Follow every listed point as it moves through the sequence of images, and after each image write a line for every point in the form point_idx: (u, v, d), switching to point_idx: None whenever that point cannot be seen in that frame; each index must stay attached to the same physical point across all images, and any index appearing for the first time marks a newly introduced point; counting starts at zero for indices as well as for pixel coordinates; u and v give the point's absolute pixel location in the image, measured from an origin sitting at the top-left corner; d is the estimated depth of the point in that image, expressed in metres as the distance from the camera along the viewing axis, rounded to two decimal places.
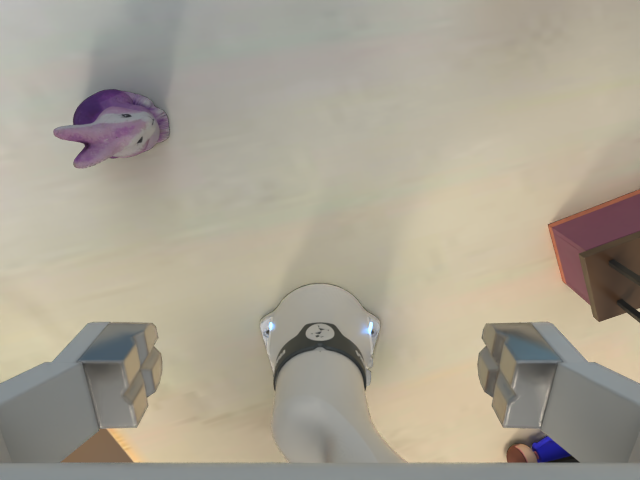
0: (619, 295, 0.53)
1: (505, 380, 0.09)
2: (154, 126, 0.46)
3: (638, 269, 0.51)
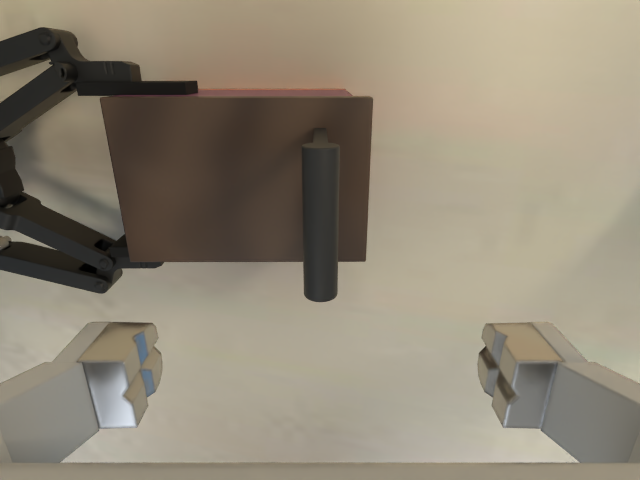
0: None
1: (505, 380, 0.09)
2: None
3: (272, 197, 0.25)
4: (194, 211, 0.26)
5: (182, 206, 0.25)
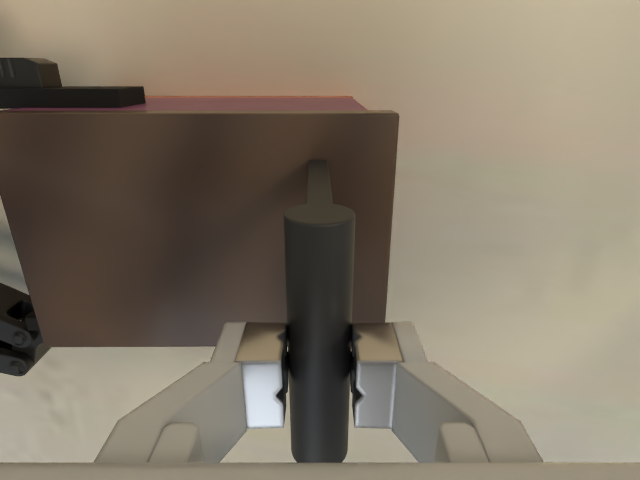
0: None
1: None
2: None
3: (248, 259, 0.17)
4: (133, 278, 0.17)
5: (115, 271, 0.17)
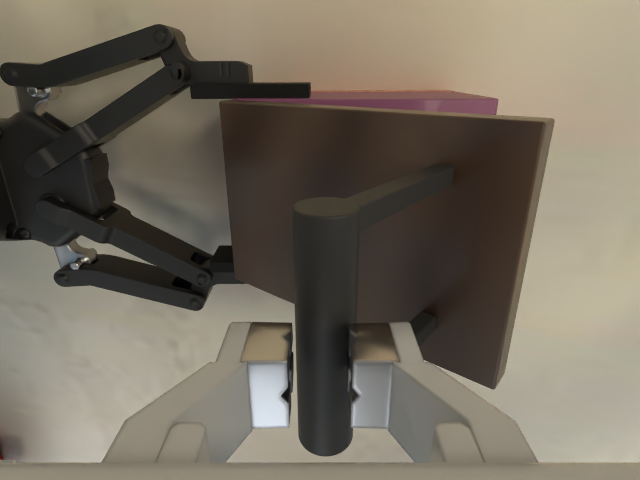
0: (438, 198, 0.15)
1: None
2: None
3: (370, 251, 0.18)
4: (288, 243, 0.21)
5: (278, 234, 0.21)
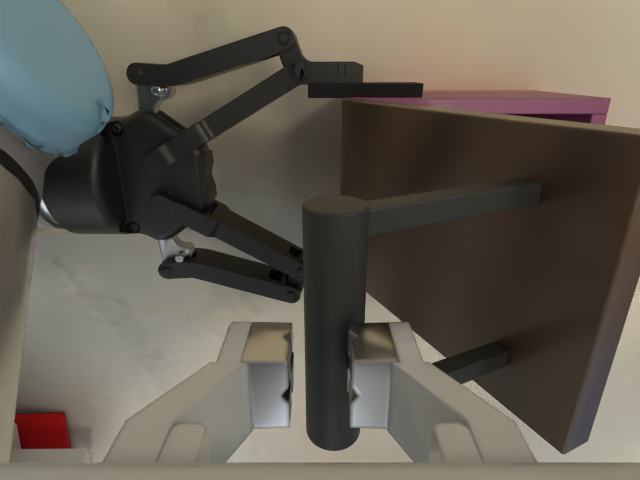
0: (523, 217, 0.13)
1: None
2: None
3: (452, 264, 0.17)
4: (382, 243, 0.21)
5: None
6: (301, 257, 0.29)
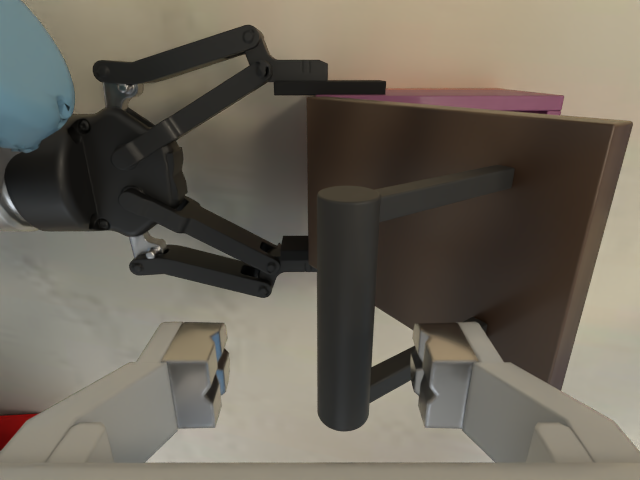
0: (496, 201, 0.15)
1: None
2: None
3: (428, 249, 0.18)
4: None
5: None
6: (272, 252, 0.30)
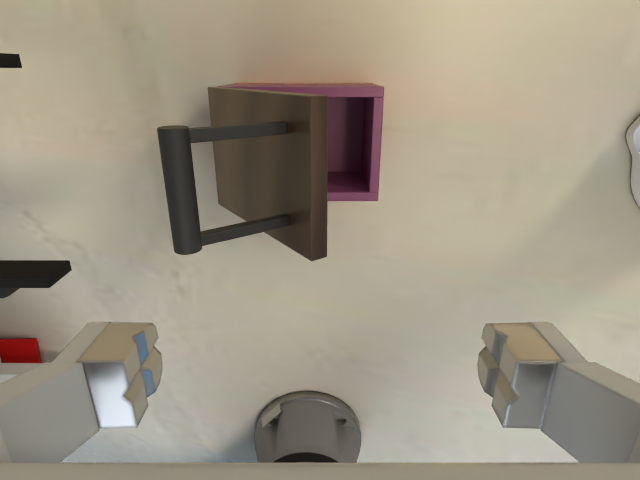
0: (283, 142, 0.26)
1: (505, 380, 0.09)
2: None
3: (264, 177, 0.29)
4: (236, 176, 0.33)
5: (232, 171, 0.34)
6: None
